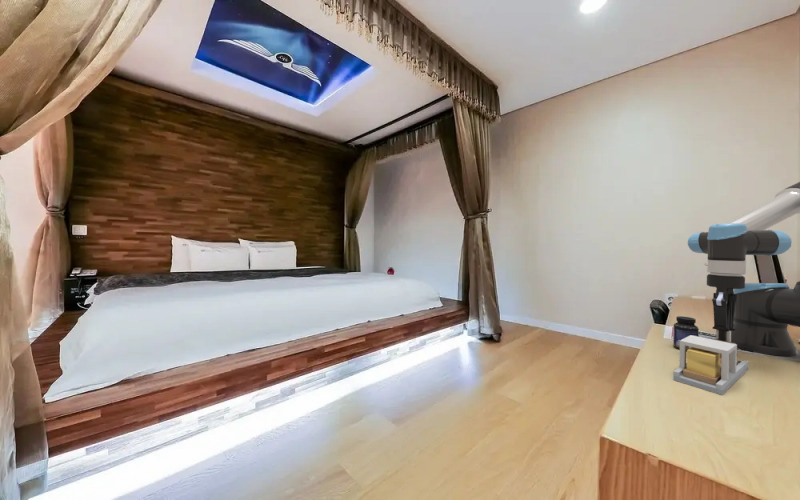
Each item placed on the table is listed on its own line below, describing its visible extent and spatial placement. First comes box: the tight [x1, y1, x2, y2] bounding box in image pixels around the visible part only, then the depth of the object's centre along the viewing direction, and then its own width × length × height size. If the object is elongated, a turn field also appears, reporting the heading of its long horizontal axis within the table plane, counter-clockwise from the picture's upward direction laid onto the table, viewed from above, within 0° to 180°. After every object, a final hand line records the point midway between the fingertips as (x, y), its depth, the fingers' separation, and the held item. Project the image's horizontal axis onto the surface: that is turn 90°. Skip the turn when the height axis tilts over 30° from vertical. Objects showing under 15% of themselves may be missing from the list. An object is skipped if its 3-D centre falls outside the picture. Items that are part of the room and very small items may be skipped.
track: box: [672, 335, 749, 396], centre depth 78 cm, size 27×9×10 cm, turn 120°
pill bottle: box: [673, 315, 700, 352], centre depth 97 cm, size 6×6×11 cm
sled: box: [683, 337, 739, 385], centre depth 77 cm, size 22×6×7 cm, turn 120°
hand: (723, 351), depth 84 cm, fingers closed
